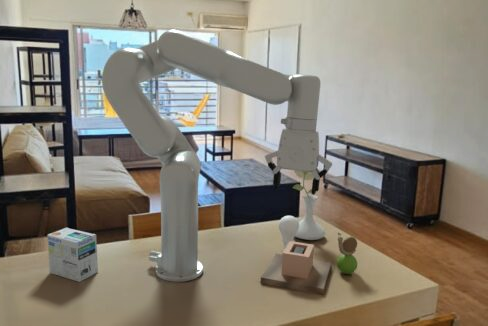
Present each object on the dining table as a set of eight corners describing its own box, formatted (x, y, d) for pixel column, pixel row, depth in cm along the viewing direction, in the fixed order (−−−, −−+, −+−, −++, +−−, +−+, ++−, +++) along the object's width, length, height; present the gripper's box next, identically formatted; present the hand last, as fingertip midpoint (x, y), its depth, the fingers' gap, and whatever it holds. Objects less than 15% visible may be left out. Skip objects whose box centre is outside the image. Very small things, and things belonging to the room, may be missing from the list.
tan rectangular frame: (281, 274, 114) (282, 252, 113) (288, 261, 122) (289, 241, 121) (307, 278, 112) (308, 257, 111) (312, 265, 120) (314, 244, 119)
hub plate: (260, 282, 112) (261, 257, 111) (275, 258, 127) (276, 235, 126) (322, 294, 108) (325, 268, 106) (330, 267, 123) (332, 244, 121)
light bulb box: (98, 272, 115) (97, 233, 113) (79, 283, 109) (77, 242, 107) (68, 263, 119) (66, 226, 117) (48, 273, 113) (46, 234, 111)
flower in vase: (331, 237, 145) (337, 163, 140) (311, 246, 137) (317, 168, 132) (299, 226, 154) (304, 157, 149) (279, 234, 146) (283, 161, 141)
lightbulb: (298, 254, 130) (300, 219, 128) (278, 254, 130) (279, 219, 128) (296, 246, 136) (298, 213, 134) (276, 246, 136) (278, 212, 134)
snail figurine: (329, 270, 121) (332, 229, 118) (348, 267, 123) (352, 226, 121) (341, 279, 116) (344, 236, 113) (360, 275, 118) (364, 233, 116)
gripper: (264, 123, 109) (259, 189, 112) (334, 130, 104) (326, 199, 107) (271, 120, 116) (267, 182, 119) (337, 127, 111) (330, 192, 114)
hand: (295, 190), depth 113 cm, fingers open, 9 cm apart
